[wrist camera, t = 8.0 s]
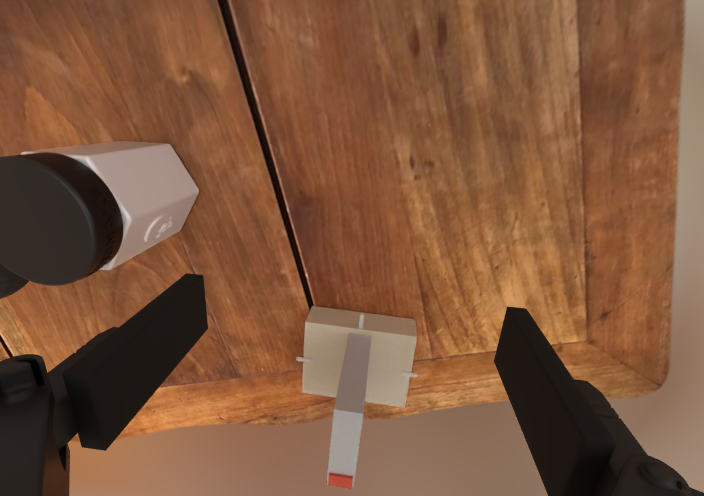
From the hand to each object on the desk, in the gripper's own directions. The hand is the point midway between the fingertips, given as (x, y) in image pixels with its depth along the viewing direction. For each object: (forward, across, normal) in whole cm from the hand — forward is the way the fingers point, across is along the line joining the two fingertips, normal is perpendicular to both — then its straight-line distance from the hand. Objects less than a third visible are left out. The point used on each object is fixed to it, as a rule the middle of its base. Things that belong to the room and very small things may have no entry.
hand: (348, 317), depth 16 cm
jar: (+17, -20, +1) cm, 26 cm away
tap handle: (+14, 0, -14) cm, 20 cm away
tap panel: (+17, 0, -14) cm, 22 cm away
